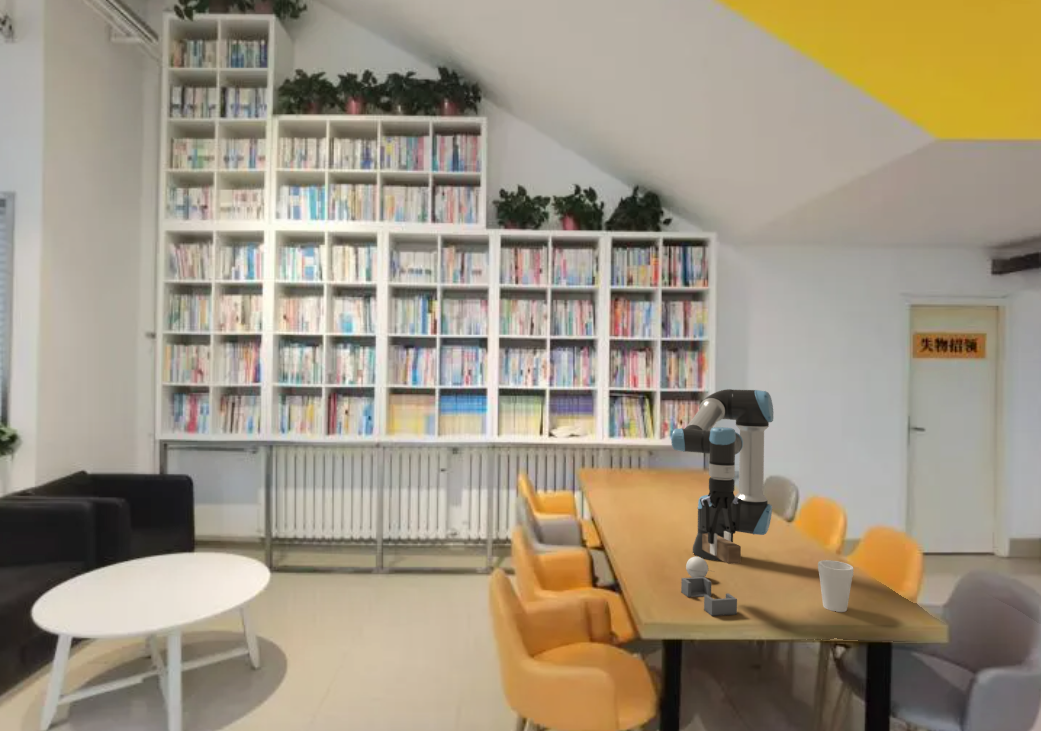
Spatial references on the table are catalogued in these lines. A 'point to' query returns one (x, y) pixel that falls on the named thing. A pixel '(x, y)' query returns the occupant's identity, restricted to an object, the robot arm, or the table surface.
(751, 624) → the table surface
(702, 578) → the cap
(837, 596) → the foam cup
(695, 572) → the ball
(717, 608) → the cap
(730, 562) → the slat
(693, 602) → the table surface
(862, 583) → the table surface
